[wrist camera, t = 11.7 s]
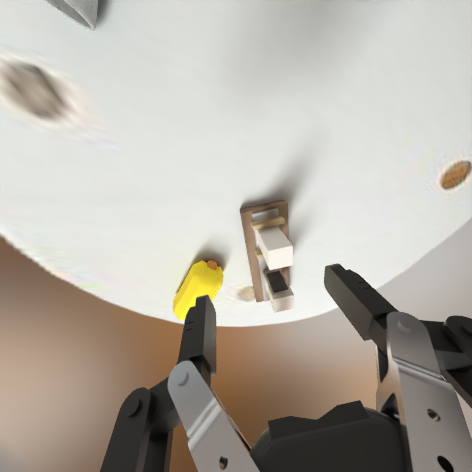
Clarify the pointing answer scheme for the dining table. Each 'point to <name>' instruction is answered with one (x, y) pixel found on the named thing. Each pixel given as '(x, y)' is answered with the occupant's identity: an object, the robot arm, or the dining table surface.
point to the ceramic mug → (78, 11)
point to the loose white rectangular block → (275, 247)
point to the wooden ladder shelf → (264, 280)
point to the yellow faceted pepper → (197, 286)
